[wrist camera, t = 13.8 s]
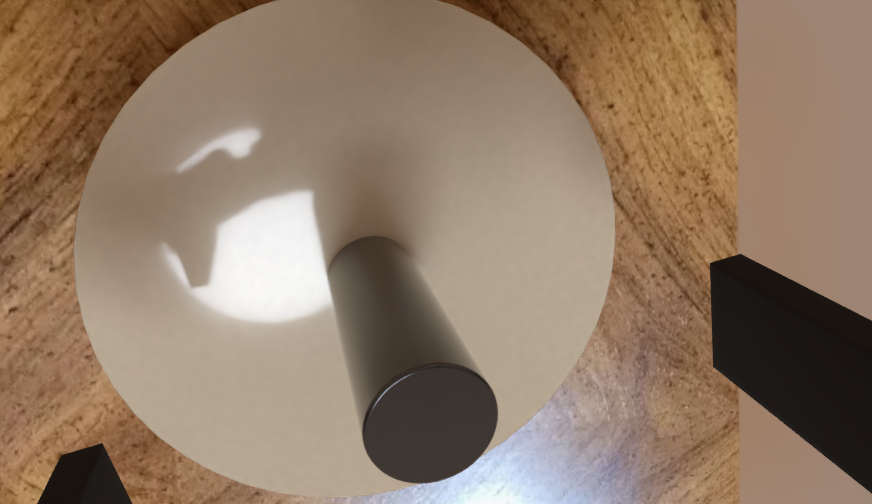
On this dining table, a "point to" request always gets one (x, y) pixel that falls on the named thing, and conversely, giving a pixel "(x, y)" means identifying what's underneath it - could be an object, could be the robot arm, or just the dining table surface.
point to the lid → (344, 244)
